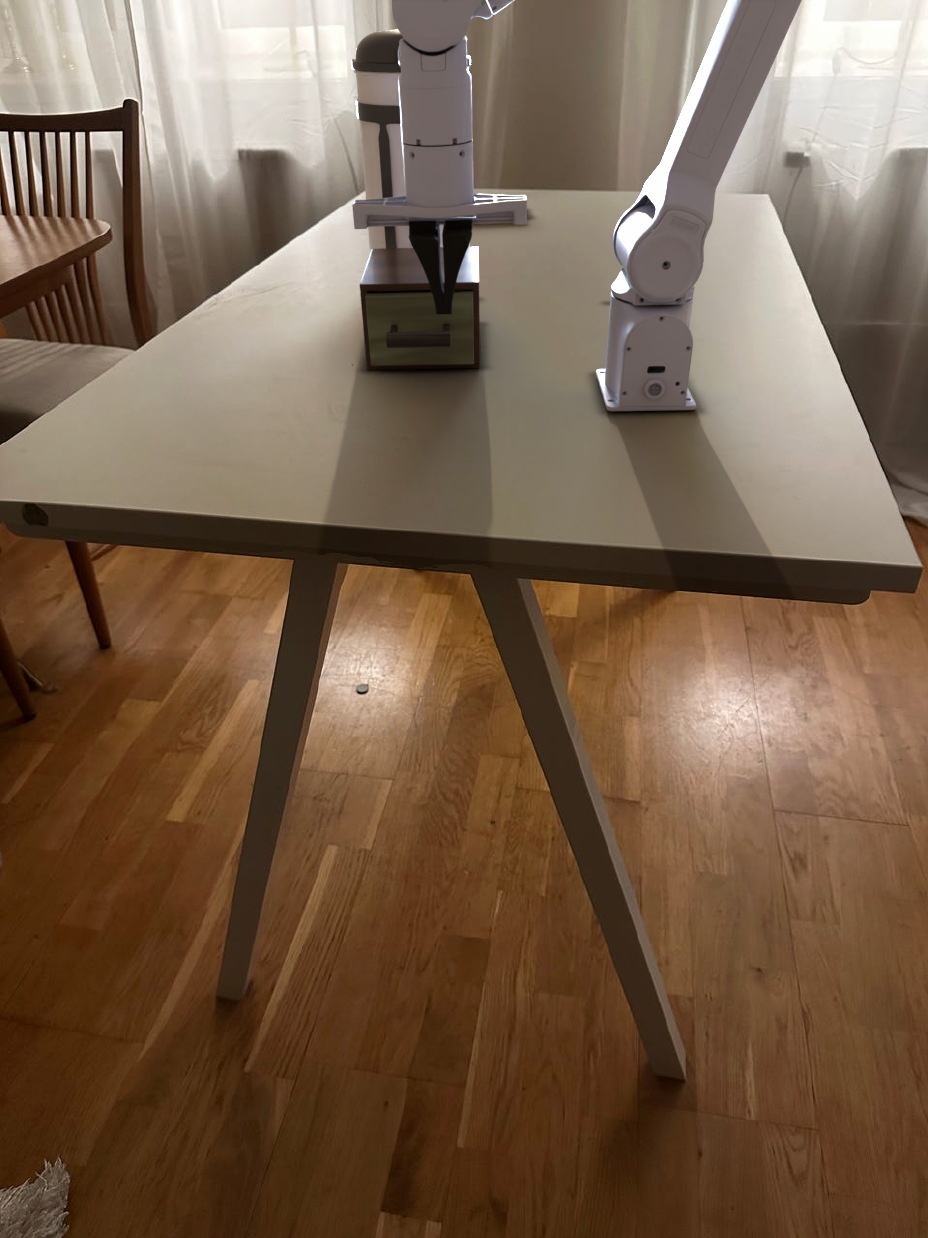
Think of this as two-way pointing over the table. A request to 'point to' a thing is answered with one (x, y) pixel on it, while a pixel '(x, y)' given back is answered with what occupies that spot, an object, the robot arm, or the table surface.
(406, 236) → the coffee press
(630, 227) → the robot arm
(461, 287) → the cabinet
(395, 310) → the drawer
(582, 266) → the table surface
